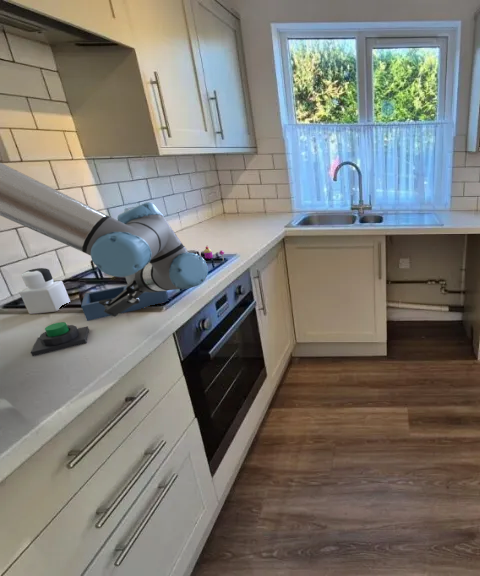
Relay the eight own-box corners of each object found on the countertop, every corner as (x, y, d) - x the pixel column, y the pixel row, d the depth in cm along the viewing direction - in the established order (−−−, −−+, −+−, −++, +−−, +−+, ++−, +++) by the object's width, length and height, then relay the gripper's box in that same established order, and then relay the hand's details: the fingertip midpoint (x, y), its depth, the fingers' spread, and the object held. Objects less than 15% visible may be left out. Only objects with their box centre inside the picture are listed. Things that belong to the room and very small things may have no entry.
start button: (46, 339, 85) (43, 331, 84) (49, 332, 88) (46, 325, 88) (68, 334, 87) (65, 326, 86) (70, 327, 90) (67, 320, 90)
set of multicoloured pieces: (177, 264, 142) (173, 249, 139) (185, 258, 149) (181, 244, 146) (225, 261, 144) (222, 246, 141) (230, 255, 151) (227, 241, 149)
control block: (32, 356, 83) (27, 345, 82) (39, 341, 89) (34, 331, 88) (86, 343, 88) (82, 332, 87) (89, 330, 94) (85, 319, 93)
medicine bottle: (45, 304, 110) (29, 267, 106) (71, 301, 111) (56, 265, 107) (28, 314, 104) (10, 275, 99) (56, 312, 105) (40, 273, 100)
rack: (87, 321, 99) (81, 306, 97) (90, 307, 107) (84, 293, 105) (169, 302, 109) (165, 288, 107) (166, 291, 117) (162, 278, 115)
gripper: (143, 329, 82) (105, 330, 94) (198, 245, 95) (159, 255, 106) (110, 313, 77) (74, 316, 89) (173, 226, 90) (134, 238, 101)
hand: (120, 282), depth 98 cm, fingers open, 13 cm apart
